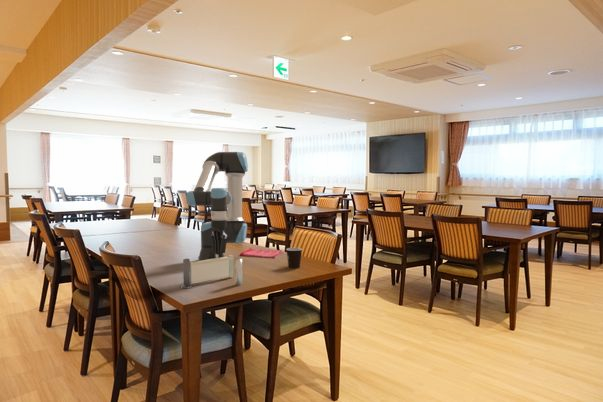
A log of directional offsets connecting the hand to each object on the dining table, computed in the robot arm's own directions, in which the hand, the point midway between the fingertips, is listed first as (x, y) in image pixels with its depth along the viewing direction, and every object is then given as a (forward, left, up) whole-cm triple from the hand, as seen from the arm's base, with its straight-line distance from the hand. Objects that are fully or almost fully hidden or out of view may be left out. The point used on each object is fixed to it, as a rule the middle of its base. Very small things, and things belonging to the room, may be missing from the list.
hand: (218, 266), depth 196 cm
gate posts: (+6, -11, -6) cm, 14 cm away
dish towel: (-16, +57, -6) cm, 60 cm away
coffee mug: (+19, +40, -6) cm, 45 cm away
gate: (+1, -8, -5) cm, 10 cm away
